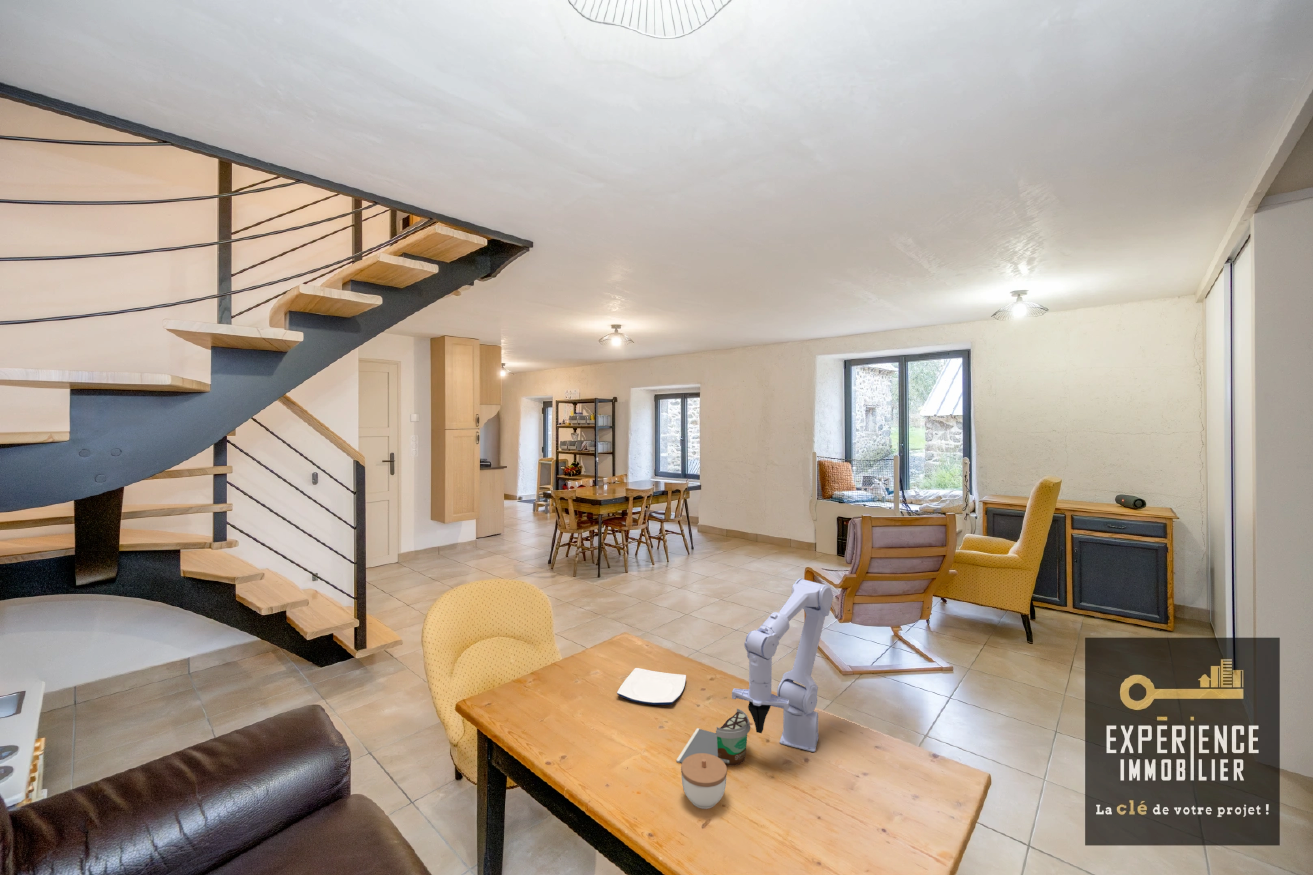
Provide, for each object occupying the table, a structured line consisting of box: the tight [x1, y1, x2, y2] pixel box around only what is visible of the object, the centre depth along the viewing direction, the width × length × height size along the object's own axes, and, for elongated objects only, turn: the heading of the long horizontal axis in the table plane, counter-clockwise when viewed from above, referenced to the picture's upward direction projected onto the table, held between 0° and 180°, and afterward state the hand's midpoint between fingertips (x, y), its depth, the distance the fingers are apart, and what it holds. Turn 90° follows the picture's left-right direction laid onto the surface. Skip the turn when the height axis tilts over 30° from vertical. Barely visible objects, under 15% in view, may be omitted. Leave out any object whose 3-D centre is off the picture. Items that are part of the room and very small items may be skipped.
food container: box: [715, 708, 751, 767], centre depth 137 cm, size 12×6×10 cm, turn 144°
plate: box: [616, 667, 687, 706], centre depth 172 cm, size 20×20×3 cm
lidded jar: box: [680, 753, 728, 810], centre depth 122 cm, size 11×11×9 cm
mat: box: [675, 727, 718, 764], centre depth 141 cm, size 10×16×1 cm, turn 156°
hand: (759, 730), depth 134 cm, fingers closed
